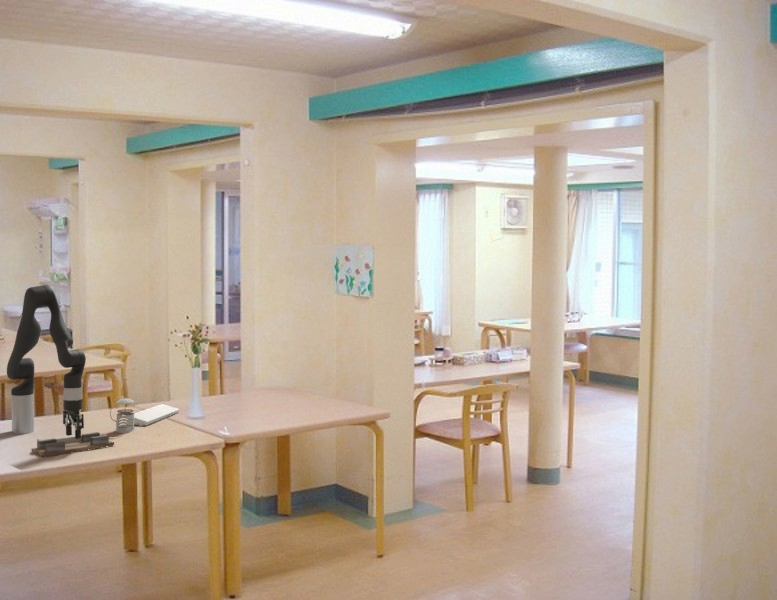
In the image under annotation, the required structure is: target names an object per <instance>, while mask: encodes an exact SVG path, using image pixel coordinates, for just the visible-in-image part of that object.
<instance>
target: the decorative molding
mask: <svg viewBox="0 0 777 600" xmlns="http://www.w3.org/2000/svg"><path fill="white" fill-rule="evenodd" d="M179 412H180V408H177V407H174V406H170V405H167V404H165V403H164V404H163V403H161V404H158V405H154V406H151V407H149V408H147V409H144V410H141V411H138V412H135V413H134V425H136V426H139V427H143V426H146V427H147V426H148V425H151V424H153V423H157V422H159V421H161V420H164V419H166V418H168V417H171V416H173V415H177V414H178V413H179ZM127 420H128V421H133V420H129V419H127ZM127 423H129V422H127ZM129 424H132V423H129Z"/></svg>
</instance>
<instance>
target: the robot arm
mask: <svg viewBox="0 0 777 600" xmlns="http://www.w3.org/2000/svg"><path fill="white" fill-rule="evenodd" d="M40 308H42V309H43V308H48V309H49V311H50V322H49V335H50V336H51V338H52V341H53V344H54V346H55V347H56V354H57V359H58V363H59V365H60V366H61V367H63V368H65V369H69V368H71V369H70V371H69V372H67V373H65V374H64V375H63V392H62V394H63V397H62V398H63V399H62V400H63V401H62V402H63V404H62V405H63V406H62V407H63V410H62V424H63V425H64V427H65V435H67V436H69V435H72V434H73V431H72V426H74V434H75V438H76V439H80V438H81V434H82V430H83V429H84V428H85V421H84V413H80V411H81V410H83V406H84V405H83V387H82V386H83V385H82V377H83V373H84V369H85V366H86V357H87V356H86V354H85V352H84V351H83V350H82V349H71V350H69V348H71V347H72V345H73V344H74V340H73V338H72V335H71V333H70V332H69V330H68V327H67V325H66V323H65V321H64V318H63V315H62V312H61V311H62V310H61V308H60V305H59V301H58V299H57V296H56V293H55V290H54V289H53V288H52V286H50V285H48V284H44V285H38V286H37V285H36V286H31V287H29V288H27V289H25V292H24V296H23V305H22V312H21V316H20V321H19V326H18V329H17V332H16V336H15V341H14V345H13V348H12V351H11V354H10V356H9V359H8V362H7V365H6V376H7V377H8V379H9V380H11V381H13V380H15V381H17V380H23V381H22V382H21V383H20V384H18V385H16V386H14V387H12V388H11V389H10V390H11V391H10V396H11V400H10V401H11V433H12V434H14V435H25V434H31V433H34V432H35V407H34V406H35V404H34V403H35V400H34V398H35V397H34V388H35V363H34V360H33V359H32V358H30V357H25V355H27V354H28V353H29V352H30V351H31V350H32V349H34V348H35V347H36V346H37V344H38V343H39V339H40V336H41V333H42V328H41V325H40V323H39V321H38V320H37V318H36V317H35V313H36V310H37V309H40Z"/></svg>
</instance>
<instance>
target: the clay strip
mask: <svg viewBox="0 0 777 600" xmlns="http://www.w3.org/2000/svg"><path fill="white" fill-rule="evenodd" d="M82 434H83V433H81V438H80V439H76V438H75V433H72V435H69V436H67V435H66V434H63V435H55V436H49V437H48V436H47V437H41V438H36V442H37V441H40V440H47V439H57V442H65V443H72V442H78V441H82Z"/></svg>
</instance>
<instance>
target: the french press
mask: <svg viewBox="0 0 777 600" xmlns="http://www.w3.org/2000/svg"><path fill="white" fill-rule="evenodd" d="M122 380H123V381H127V380H128V377H125V376H123V377H122ZM115 403H116V404H114V405H113V406H111V408H110V410H109V417H110V419H111V421H113V422H115V425H116V426H115V428H116V430H115V432H116V433H121V434H122V433H123V434H124V433H133V432H135V431H136V429H135V424H134V414H135V413H134V410H133V409H129V408H128V409H127V408H126V407H124V409H118V408H117V407H118V406H117V405H132V404H134V403H135V400H133V399H131V398H127V397H123V398H120V399H118V400H117V401H116V402H115ZM114 408H116V409H118V410H117V411H116V412H117V414H116V420H115V419H114V418H113V417H112V416H111V415H112V413H111V412H112V410H113V409H114ZM128 419H129V420H133V421H128ZM127 422H129V423H132V424H129V423H127Z"/></svg>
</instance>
